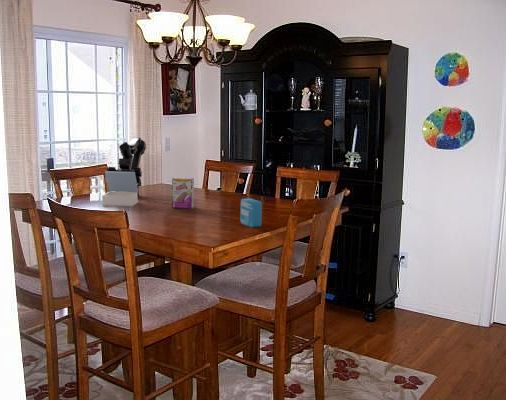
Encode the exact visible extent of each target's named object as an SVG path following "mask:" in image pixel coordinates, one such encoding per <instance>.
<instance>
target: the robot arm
mask: <svg viewBox="0 0 506 400" xmlns="http://www.w3.org/2000/svg"><path fill="white" fill-rule="evenodd" d="M146 144H147V143H146V141H144V140H142V138H141V137H135V136H134V137H131V140H130V142H129V143H128V141H127V142H126V141H124V142H123V143H121V144H120V145H119V152H120V154H121V157H122V158H118V163H117V164H118V165H119V166H118V168H117V169H116V166H108V167H107V169H106V171H115V172H135V176H136V182H137V188H138V192H137V197H140V193H139V190H140V188H139V187H142V181H141V177H142V176H143V172H142V169H141V167H140V162H141V158H142V155H144V154H145V151H146V149H147V145H146Z"/></svg>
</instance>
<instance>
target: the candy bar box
mask: <svg viewBox="0 0 506 400" xmlns="http://www.w3.org/2000/svg"><path fill="white" fill-rule="evenodd" d="M194 184H195V181H194V178H193V177H192V178H191V177H178V176H174V177H172V179H171V209H189V210H190V209H191V210H193V209H194V198H195V197H194V195H195V194H194V193H195V191H194V189H195V188H194V186H195V185H194Z"/></svg>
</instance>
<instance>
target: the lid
mask: <svg viewBox="0 0 506 400" xmlns="http://www.w3.org/2000/svg"><path fill="white" fill-rule="evenodd" d="M104 174H105V179H106V182H107V183H106V184H107V187H108V192H109V191H111V192H138V188H137V182H136V176H135V172H115V171H107V170H105V171H104Z"/></svg>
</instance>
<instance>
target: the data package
mask: <svg viewBox="0 0 506 400" xmlns="http://www.w3.org/2000/svg"><path fill="white" fill-rule="evenodd" d="M262 206H263V204H262V202H261V201H260V200H257V199H254V198H249V197H248V198H241V199H240V210H239V211H240V213H239V215H240V216H239V217H240V224H242V225H244V226H247V227H250V228H260V227H261V226H262V214H263V213H262V211H263V209H262V208H263V207H262Z"/></svg>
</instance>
